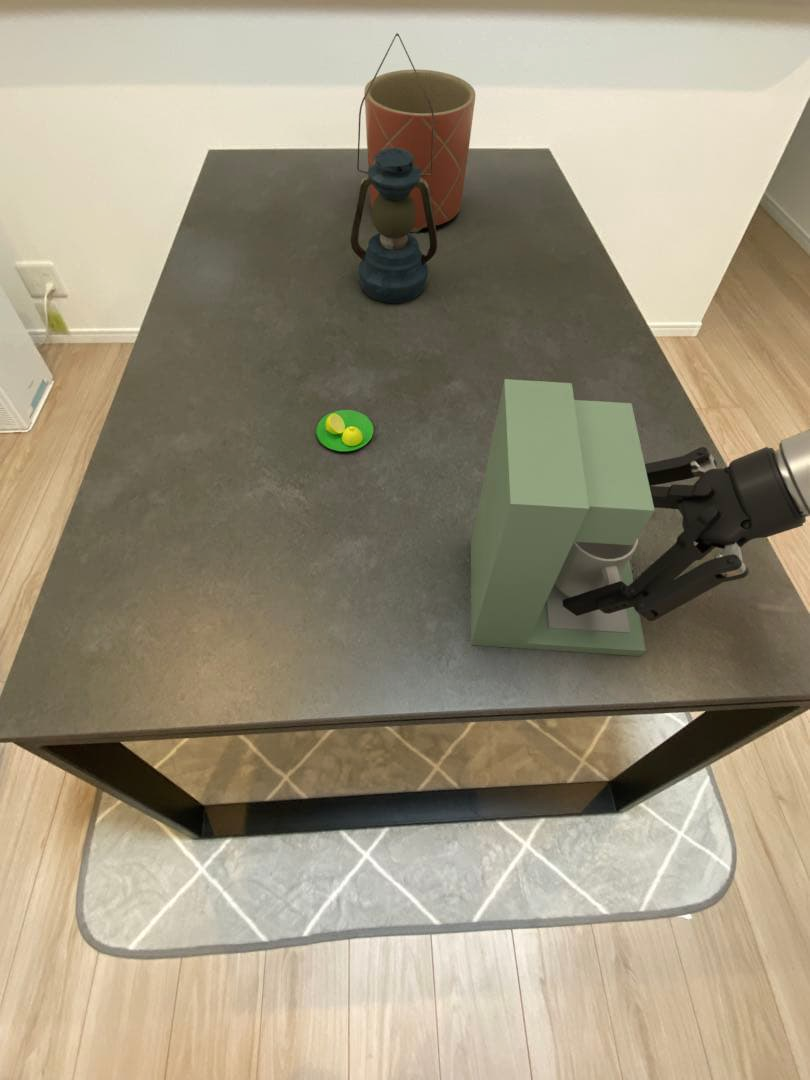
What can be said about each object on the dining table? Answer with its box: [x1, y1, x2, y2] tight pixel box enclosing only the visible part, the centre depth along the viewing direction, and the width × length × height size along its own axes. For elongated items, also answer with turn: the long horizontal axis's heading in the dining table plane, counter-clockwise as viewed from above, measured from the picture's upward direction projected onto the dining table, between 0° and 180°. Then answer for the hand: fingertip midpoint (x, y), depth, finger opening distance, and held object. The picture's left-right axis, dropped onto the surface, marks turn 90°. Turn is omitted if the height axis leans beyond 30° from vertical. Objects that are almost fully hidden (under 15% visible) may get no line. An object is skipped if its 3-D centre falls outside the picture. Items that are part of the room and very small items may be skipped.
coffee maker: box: [470, 378, 656, 657], centre depth 60 cm, size 19×14×26 cm
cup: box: [554, 537, 639, 611], centre depth 65 cm, size 7×10×9 cm
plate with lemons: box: [315, 409, 374, 452], centre depth 84 cm, size 8×8×3 cm
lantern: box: [350, 33, 438, 304], centre depth 90 cm, size 14×12×35 cm
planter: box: [363, 69, 476, 234], centre depth 111 cm, size 19×19×20 cm
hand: (565, 565), depth 65 cm, fingers closed on cup, 10 cm apart
